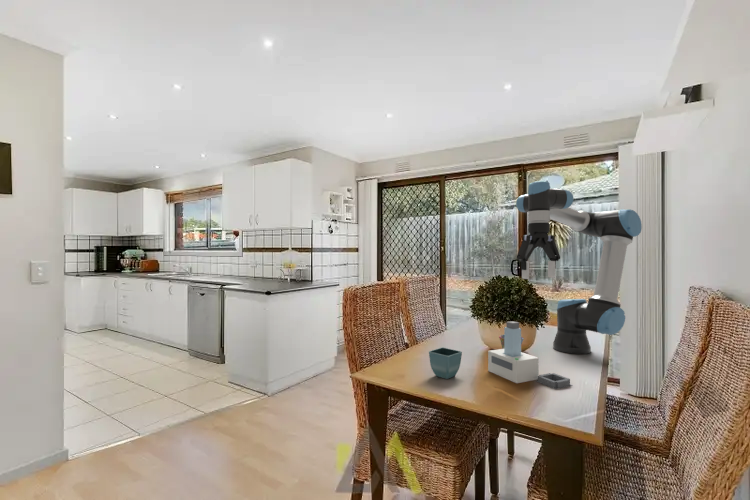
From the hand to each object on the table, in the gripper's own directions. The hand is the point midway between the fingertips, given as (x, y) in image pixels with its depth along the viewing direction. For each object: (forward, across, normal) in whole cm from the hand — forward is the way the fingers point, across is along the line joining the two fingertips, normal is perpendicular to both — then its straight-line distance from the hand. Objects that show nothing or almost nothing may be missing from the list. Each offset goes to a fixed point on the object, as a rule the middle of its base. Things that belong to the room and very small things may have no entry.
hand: (538, 278), depth 140 cm
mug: (+35, +4, -11) cm, 37 cm away
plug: (+30, +15, +2) cm, 34 cm away
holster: (+35, +8, +14) cm, 38 cm away
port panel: (+35, +15, +2) cm, 38 cm away
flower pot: (+35, +37, -8) cm, 52 cm away
